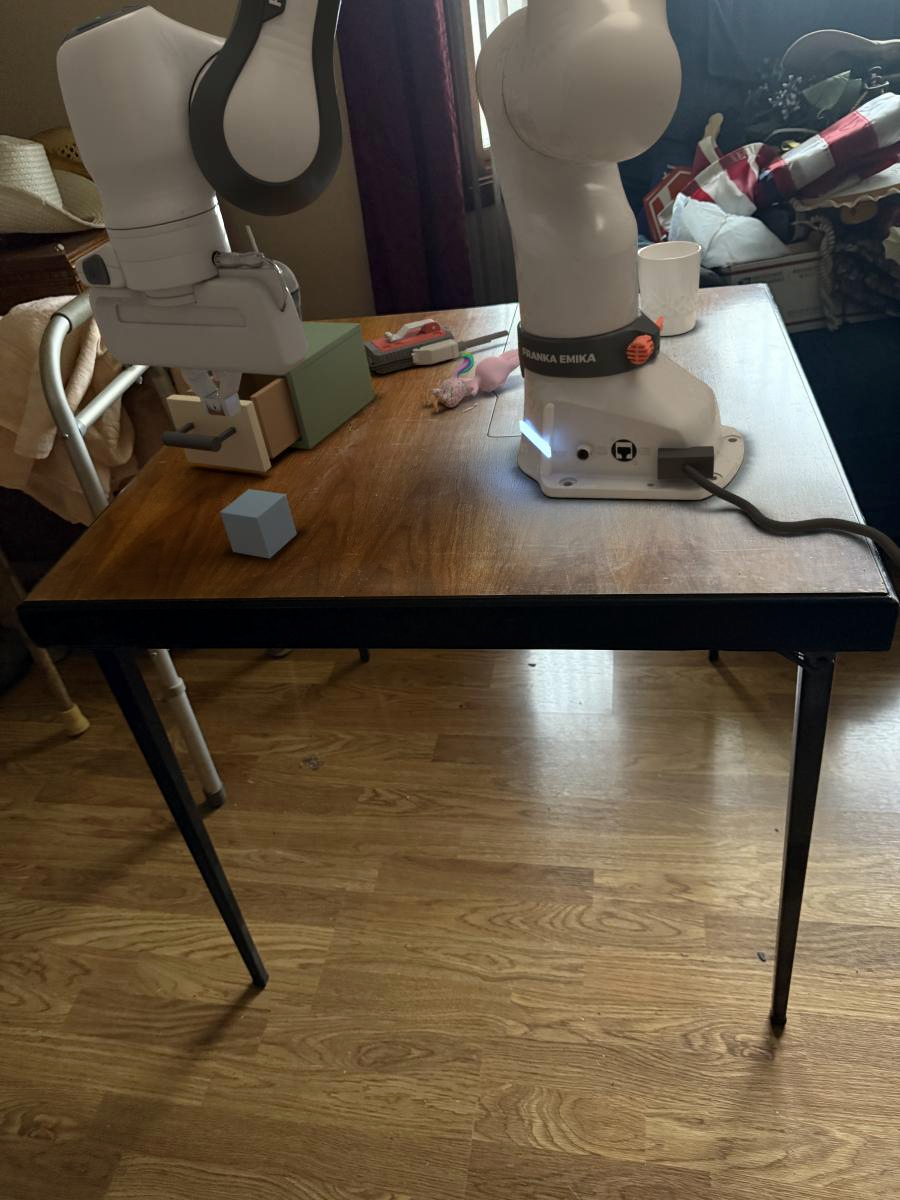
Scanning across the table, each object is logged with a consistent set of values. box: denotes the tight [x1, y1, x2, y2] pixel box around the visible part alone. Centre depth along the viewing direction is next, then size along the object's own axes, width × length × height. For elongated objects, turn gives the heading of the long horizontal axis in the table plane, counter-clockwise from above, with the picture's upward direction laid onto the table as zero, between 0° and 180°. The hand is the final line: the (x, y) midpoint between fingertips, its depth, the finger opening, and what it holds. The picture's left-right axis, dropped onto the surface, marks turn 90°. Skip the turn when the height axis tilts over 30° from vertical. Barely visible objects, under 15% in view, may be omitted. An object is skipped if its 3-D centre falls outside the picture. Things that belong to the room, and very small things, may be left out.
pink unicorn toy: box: [423, 348, 520, 413], centre depth 106 cm, size 6×6×15 cm
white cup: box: [638, 240, 703, 337], centre depth 114 cm, size 8×8×10 cm
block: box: [219, 488, 298, 559], centre depth 83 cm, size 4×4×4 cm
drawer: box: [161, 373, 302, 473], centre depth 99 cm, size 18×11×8 cm, turn 153°
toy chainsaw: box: [364, 318, 510, 375], centre depth 120 cm, size 9×4×20 cm
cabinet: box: [207, 321, 376, 450], centre depth 106 cm, size 15×13×10 cm
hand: (224, 413), depth 78 cm, fingers closed
